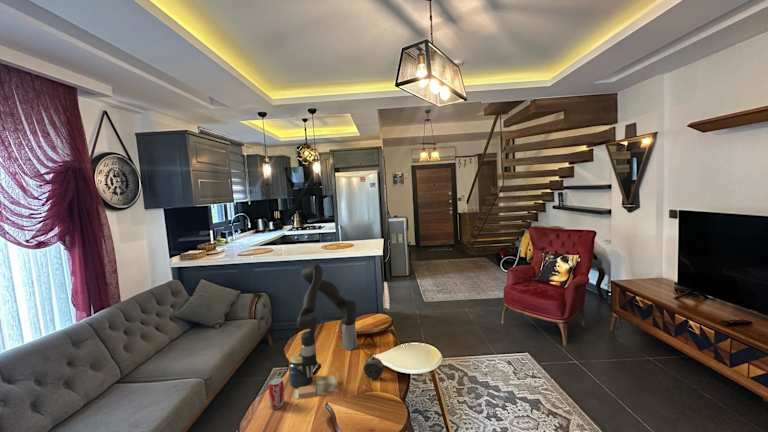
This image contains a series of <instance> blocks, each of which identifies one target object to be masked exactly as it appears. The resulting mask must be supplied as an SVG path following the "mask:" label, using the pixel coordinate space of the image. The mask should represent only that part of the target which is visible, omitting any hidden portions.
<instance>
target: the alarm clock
mask: <svg viewBox="0 0 768 432" xmlns="http://www.w3.org/2000/svg"><path fill="white" fill-rule="evenodd" d="M373 353H374V354H375V356H371V355H372V354H373ZM369 355H370V356H369V358H367V359H366V360H365V362H364V364H363V372H364V374H365V375H366V378H369V379H371V382H373V381H374V379H375V380H376V379H381V380H382V374H383V371H384V363H383V362H382V360H381V359H379V358H377V354H376V352H375V351H372V352H370V354H369Z"/></svg>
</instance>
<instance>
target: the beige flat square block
mask: <svg viewBox="0 0 768 432" xmlns="http://www.w3.org/2000/svg"><path fill="white" fill-rule="evenodd" d="M314 379H315V381H314V382H315V385H316V391H317V395H316V396H318V397H319V396H324V395H329V394H333V393H338V392H339V384H338V381H337V376H336V374H331V375H325V376H320V377H316V378H314Z"/></svg>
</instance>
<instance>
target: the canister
mask: <svg viewBox="0 0 768 432" xmlns="http://www.w3.org/2000/svg"><path fill="white" fill-rule="evenodd" d="M301 363H302V353H301V350H300V351H298V352H296V353H294V354H293V355H292V356H291V357H290V358H289V361H288V366H289V368H288V372H289V374H288V375H289V384H290V385H289V386H291V387H292V388H294V389H295V388H296V389H299V387H304V386H310V385H312V383H310V384H309V383H308V380H307V377H304V376H303V375H302V374H300V373H299V372H298V367H300V366H301ZM302 370H303V371H304V372H305V373H307V371H305V370H304V369H303V368H302ZM309 374H310V371H309Z"/></svg>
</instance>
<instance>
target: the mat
mask: <svg viewBox="0 0 768 432" xmlns="http://www.w3.org/2000/svg"><path fill="white" fill-rule="evenodd" d="M298 393H299V388H296V389H294V396H295V400H299V399H305V398H309V397H313V396H317V391H316V395H312V396H306V397H300V398H299V395H298Z"/></svg>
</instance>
